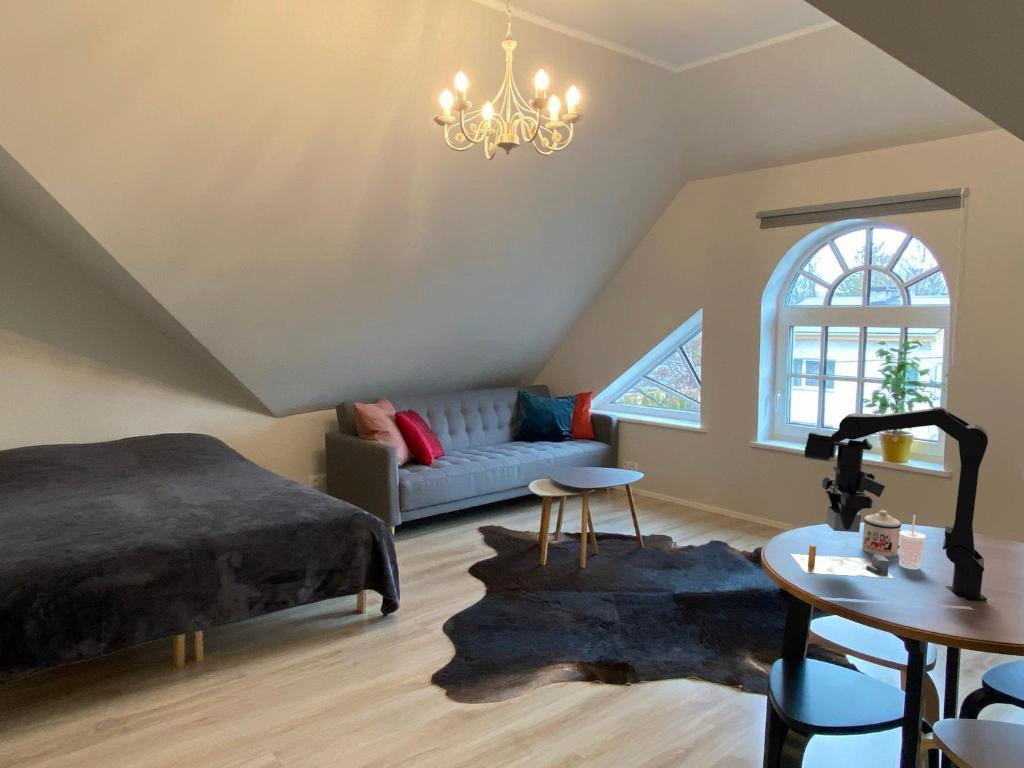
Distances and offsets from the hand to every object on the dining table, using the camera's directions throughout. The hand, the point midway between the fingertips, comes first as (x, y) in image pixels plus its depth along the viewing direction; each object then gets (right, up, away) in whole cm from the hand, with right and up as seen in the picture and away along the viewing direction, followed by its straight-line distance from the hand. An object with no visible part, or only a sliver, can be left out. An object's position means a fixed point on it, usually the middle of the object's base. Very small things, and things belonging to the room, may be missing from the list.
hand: (842, 525), depth 187 cm
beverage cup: (+18, -12, +4) cm, 22 cm away
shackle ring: (0, -1, 0) cm, 1 cm away
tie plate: (0, -11, +2) cm, 11 cm away
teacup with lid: (+17, -11, +14) cm, 25 cm away
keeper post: (-7, -11, +2) cm, 13 cm away
